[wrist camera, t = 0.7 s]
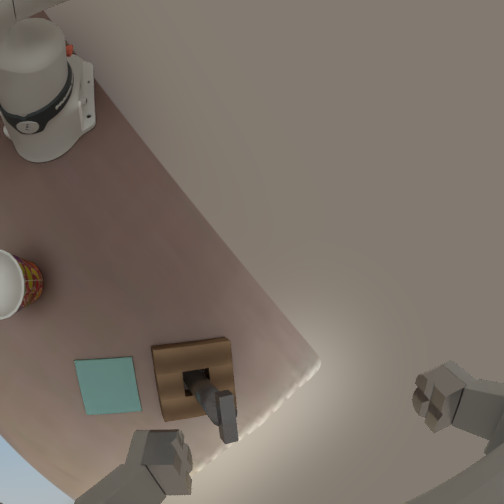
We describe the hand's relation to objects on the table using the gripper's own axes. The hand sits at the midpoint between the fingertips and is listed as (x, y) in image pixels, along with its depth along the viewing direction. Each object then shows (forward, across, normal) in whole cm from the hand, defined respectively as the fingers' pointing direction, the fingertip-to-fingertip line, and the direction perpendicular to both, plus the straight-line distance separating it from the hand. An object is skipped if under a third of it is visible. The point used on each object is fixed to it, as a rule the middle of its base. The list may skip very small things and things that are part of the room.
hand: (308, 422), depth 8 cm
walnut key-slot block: (+36, +12, +23) cm, 44 cm away
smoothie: (+32, +35, 0) cm, 48 cm away
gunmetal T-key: (+36, +12, +23) cm, 44 cm away
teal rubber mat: (+31, +26, +20) cm, 45 cm away
